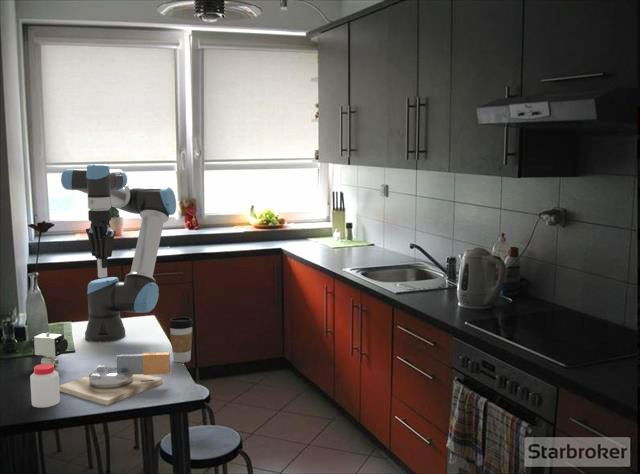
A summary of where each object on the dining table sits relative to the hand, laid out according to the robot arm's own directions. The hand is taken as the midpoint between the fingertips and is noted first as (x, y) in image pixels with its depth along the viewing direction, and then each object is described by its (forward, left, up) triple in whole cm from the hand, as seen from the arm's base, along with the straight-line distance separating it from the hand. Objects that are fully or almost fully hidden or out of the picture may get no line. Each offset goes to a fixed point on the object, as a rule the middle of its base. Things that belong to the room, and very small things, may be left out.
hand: (102, 276), depth 231 cm
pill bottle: (+37, +18, -30) cm, 51 cm away
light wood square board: (+18, +24, -29) cm, 42 cm away
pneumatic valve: (+16, -9, -30) cm, 35 cm away
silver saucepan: (+14, +29, -28) cm, 42 cm away
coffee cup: (-13, +24, -30) cm, 40 cm away
